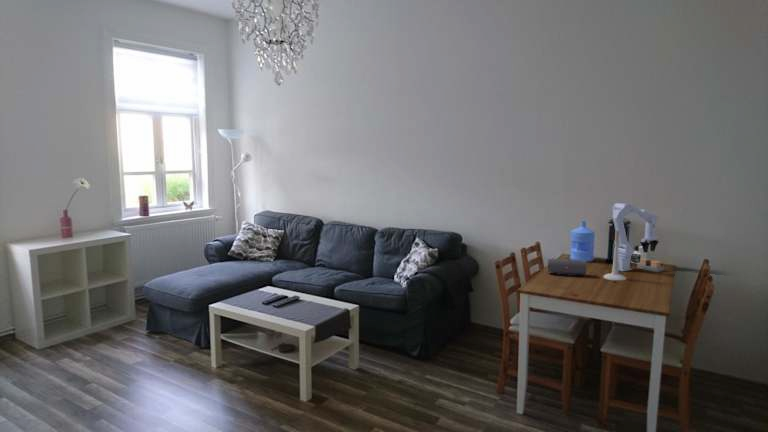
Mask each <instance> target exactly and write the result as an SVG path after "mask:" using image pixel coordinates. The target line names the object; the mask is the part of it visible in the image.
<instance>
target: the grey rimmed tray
mask: <svg viewBox="0 0 768 432" xmlns="http://www.w3.org/2000/svg"><path fill="white" fill-rule="evenodd" d="M650 262H651V259H649V258H648V259H640V264H636V268H637V269H641V270H645V271H649V272H655V273H659V272H664V269H665V267H664V266H660V267H659V268H655V267H650Z"/></svg>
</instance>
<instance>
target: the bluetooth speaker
mask: <svg viewBox="0 0 768 432" xmlns="http://www.w3.org/2000/svg"><path fill="white" fill-rule="evenodd" d="M547 272H548V273H554V274H555V273H556V274H558V273H559V274H568V275H567V276H573V275H575V276H576V275H587V262H586V261H583V260H572V259H571V258H569V259H568V258H547ZM559 274H558V275H559Z"/></svg>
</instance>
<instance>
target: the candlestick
mask: <svg viewBox="0 0 768 432" xmlns="http://www.w3.org/2000/svg"><path fill="white" fill-rule="evenodd" d="M614 234H615V237H614V240H613V244H614V252H613V261H612V269H611V273H606V274H604V275H603V278H604V279H605V280H609V281H616V282H620V281H621V282H622V281H626V280H627V277H626V276H625V275H623V274H620V272H619V270H618V245H619V231H616V230H615V233H614Z"/></svg>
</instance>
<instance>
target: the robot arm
mask: <svg viewBox="0 0 768 432" xmlns="http://www.w3.org/2000/svg"><path fill="white" fill-rule="evenodd" d="M611 208H612V221H613V224H614V230H615V231H619V245H618V271H620V272H626V271H628V272H629V271H632V270H633V268H631V256H632V255H633V252H634V248H633V247H632V245H631V243H630V242H628V237H627V233H626V228H625V224H624V219H625V218H626V217H627V216H628V215H629V214H630V213H633V214H635V215H636V216H637V217H638V218H639V219H641V220H643V221H644V222H645V231H644V237H643V238H641V241H640V244H641V245H640V246H642V247H643V251H644V252H643V253H648V250H649V248H650V250H649V251H650V252H655V250H656V247H657V245H658V243H659V242H660V241H659V240H658V239H659V237H658V236H655V235H656V225H657V222H658V221H659V218H658V216H657V214H655V213H652V212H650V211H647V209H644V208H643V209H639V208H637V207H635V206H633V205H632V204H629V203H620V202H615V204H614V205H613V207H611ZM649 246H650V247H649Z"/></svg>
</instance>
